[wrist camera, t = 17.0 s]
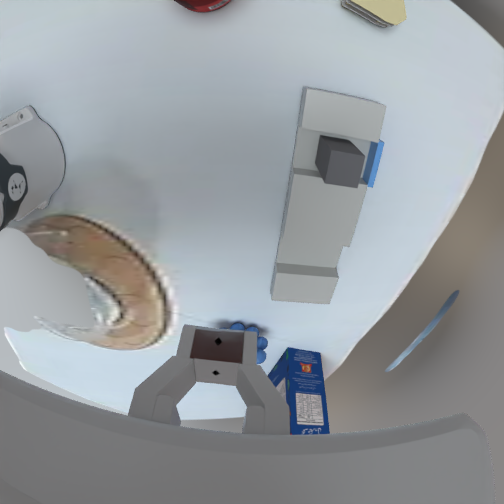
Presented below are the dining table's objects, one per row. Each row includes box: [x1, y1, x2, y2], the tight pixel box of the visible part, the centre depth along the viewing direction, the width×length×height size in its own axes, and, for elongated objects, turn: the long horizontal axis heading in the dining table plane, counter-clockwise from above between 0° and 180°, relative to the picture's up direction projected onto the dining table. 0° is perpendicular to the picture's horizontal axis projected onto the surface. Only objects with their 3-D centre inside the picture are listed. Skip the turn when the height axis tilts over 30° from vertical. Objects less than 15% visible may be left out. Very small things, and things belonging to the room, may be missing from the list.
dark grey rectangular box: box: [315, 135, 365, 188], centre depth 34 cm, size 4×4×7 cm
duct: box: [270, 87, 386, 304], centre depth 41 cm, size 11×34×4 cm, turn 175°
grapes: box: [220, 323, 268, 364], centre depth 54 cm, size 12×7×12 cm, turn 77°
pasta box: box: [268, 347, 330, 435], centre depth 60 cm, size 28×8×28 cm, turn 163°
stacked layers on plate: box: [342, 0, 406, 27], centre depth 23 cm, size 10×9×6 cm
